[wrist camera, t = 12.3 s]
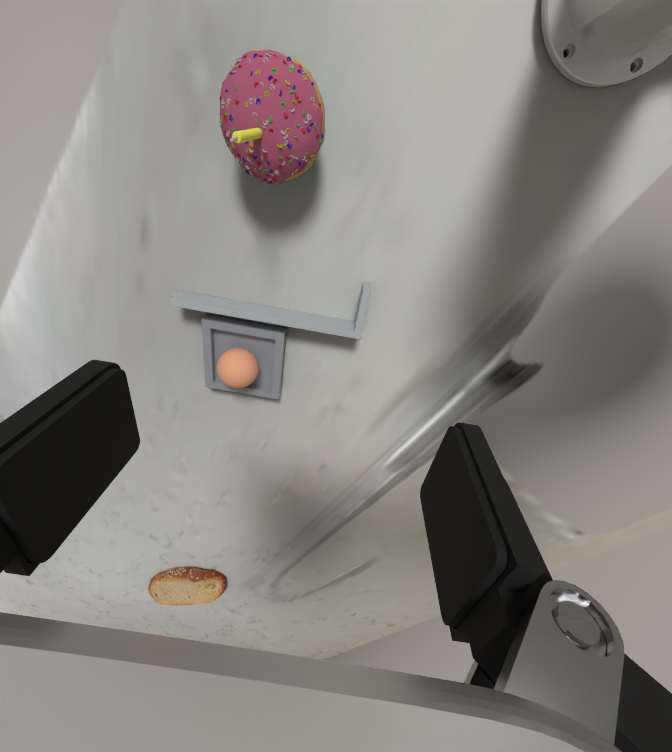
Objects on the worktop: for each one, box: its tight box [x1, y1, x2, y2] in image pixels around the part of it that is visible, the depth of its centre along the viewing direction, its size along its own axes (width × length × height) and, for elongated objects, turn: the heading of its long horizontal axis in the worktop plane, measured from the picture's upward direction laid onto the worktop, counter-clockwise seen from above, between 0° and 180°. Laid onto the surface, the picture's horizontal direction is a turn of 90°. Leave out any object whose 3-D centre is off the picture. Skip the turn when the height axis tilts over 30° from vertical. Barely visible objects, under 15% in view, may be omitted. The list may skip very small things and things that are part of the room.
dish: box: [202, 314, 287, 400], centre depth 43 cm, size 10×10×2 cm
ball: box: [217, 348, 259, 388], centre depth 41 cm, size 5×5×5 cm
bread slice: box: [148, 567, 227, 605], centre depth 77 cm, size 18×18×4 cm
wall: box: [170, 281, 371, 339], centre depth 37 cm, size 22×6×3 cm, turn 81°
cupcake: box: [220, 50, 325, 184], centre depth 25 cm, size 9×8×12 cm
